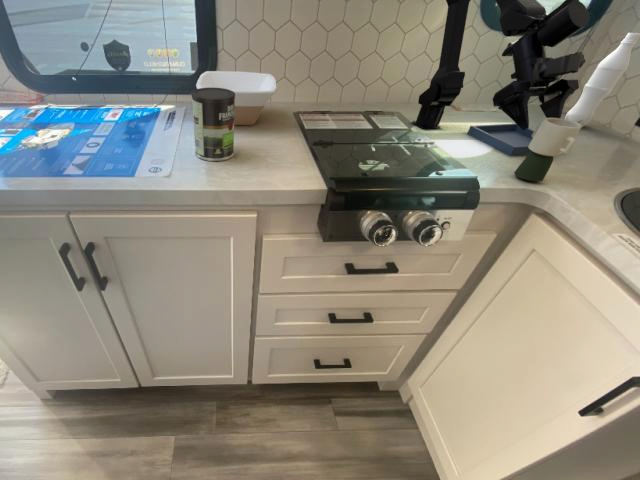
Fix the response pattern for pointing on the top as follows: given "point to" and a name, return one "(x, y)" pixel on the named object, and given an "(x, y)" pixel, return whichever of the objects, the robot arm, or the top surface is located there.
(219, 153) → the coffee can
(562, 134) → the character mug
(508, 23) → the robot arm
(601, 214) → the top surface
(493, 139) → the shallow blue square tray
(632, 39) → the water bottle
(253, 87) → the bowl
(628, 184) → the top surface
